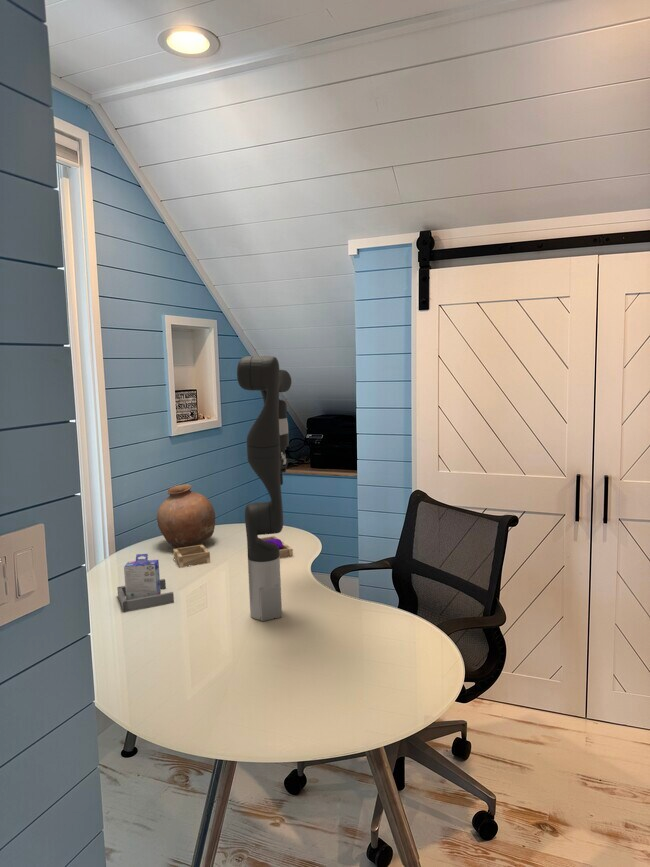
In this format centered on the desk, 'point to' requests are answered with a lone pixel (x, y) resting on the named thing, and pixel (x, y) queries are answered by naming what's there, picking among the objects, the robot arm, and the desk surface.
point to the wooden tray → (191, 555)
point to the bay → (144, 599)
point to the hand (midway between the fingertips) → (278, 484)
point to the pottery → (186, 517)
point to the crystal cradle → (283, 552)
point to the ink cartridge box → (142, 578)
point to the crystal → (276, 542)
